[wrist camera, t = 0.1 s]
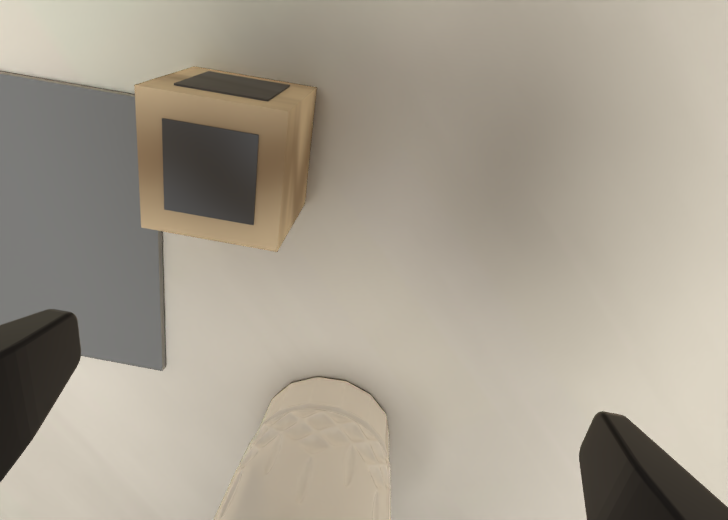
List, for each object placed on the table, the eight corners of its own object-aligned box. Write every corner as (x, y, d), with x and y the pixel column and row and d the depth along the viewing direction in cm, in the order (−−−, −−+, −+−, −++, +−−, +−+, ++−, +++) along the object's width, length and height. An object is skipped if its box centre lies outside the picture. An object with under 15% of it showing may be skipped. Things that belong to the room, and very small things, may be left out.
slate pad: (165, 366, 28) (162, 370, 28) (-16, 332, 29) (-22, 336, 28) (158, 98, 22) (153, 100, 22) (-75, 58, 22) (-84, 59, 22)
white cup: (291, 487, 32) (238, 680, 23) (232, 384, 29) (144, 562, 20) (419, 463, 30) (416, 664, 21) (370, 351, 27) (342, 530, 18)
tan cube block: (305, 203, 24) (276, 252, 19) (194, 183, 24) (140, 228, 19) (317, 85, 21) (288, 109, 17) (194, 64, 21) (133, 82, 17)
